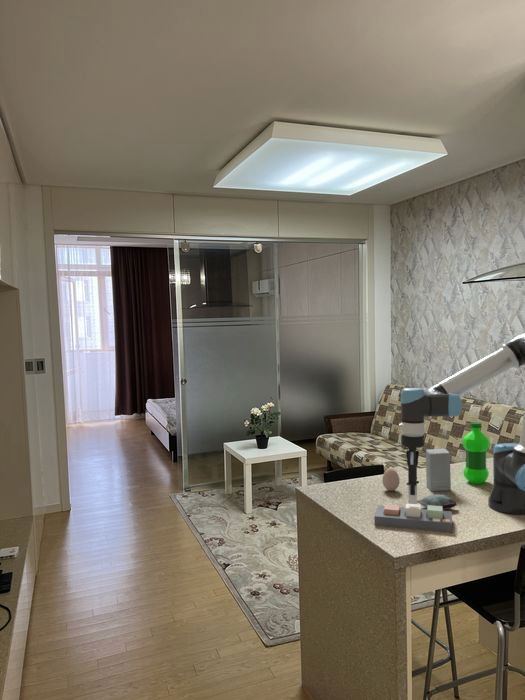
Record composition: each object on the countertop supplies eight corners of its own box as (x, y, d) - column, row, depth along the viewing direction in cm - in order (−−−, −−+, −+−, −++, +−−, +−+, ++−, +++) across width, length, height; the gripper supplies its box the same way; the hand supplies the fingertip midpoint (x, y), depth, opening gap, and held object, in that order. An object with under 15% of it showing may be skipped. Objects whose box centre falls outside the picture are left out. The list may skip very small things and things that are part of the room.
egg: (398, 488, 216) (397, 466, 215) (400, 493, 209) (400, 470, 208) (381, 488, 216) (381, 466, 216) (383, 493, 210) (383, 470, 209)
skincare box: (445, 486, 217) (445, 447, 216) (451, 491, 210) (451, 452, 209) (425, 486, 217) (424, 448, 216) (430, 492, 210) (429, 452, 209)
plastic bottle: (490, 480, 223) (490, 421, 222) (487, 487, 214) (487, 426, 213) (465, 477, 228) (465, 419, 227) (461, 484, 219) (460, 424, 218)
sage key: (442, 517, 178) (442, 506, 178) (442, 523, 174) (442, 511, 174) (427, 516, 180) (427, 505, 180) (427, 521, 175) (427, 509, 175)
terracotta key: (399, 516, 183) (399, 505, 183) (398, 521, 178) (398, 510, 178) (385, 515, 184) (385, 504, 184) (384, 520, 180) (384, 508, 180)
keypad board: (451, 520, 180) (451, 510, 180) (452, 532, 170) (452, 522, 170) (378, 513, 188) (377, 504, 188) (374, 524, 178) (374, 515, 178)
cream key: (420, 516, 181) (420, 504, 180) (420, 521, 176) (420, 509, 176) (406, 514, 182) (406, 503, 182) (405, 519, 178) (405, 508, 177)
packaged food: (415, 507, 194) (415, 494, 193) (441, 502, 198) (441, 489, 198) (431, 515, 186) (431, 501, 185) (458, 510, 190) (458, 497, 190)
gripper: (402, 429, 185) (402, 496, 186) (399, 437, 173) (399, 508, 174) (424, 430, 182) (424, 498, 184) (423, 439, 170) (423, 511, 171)
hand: (412, 503), depth 179 cm, fingers closed
